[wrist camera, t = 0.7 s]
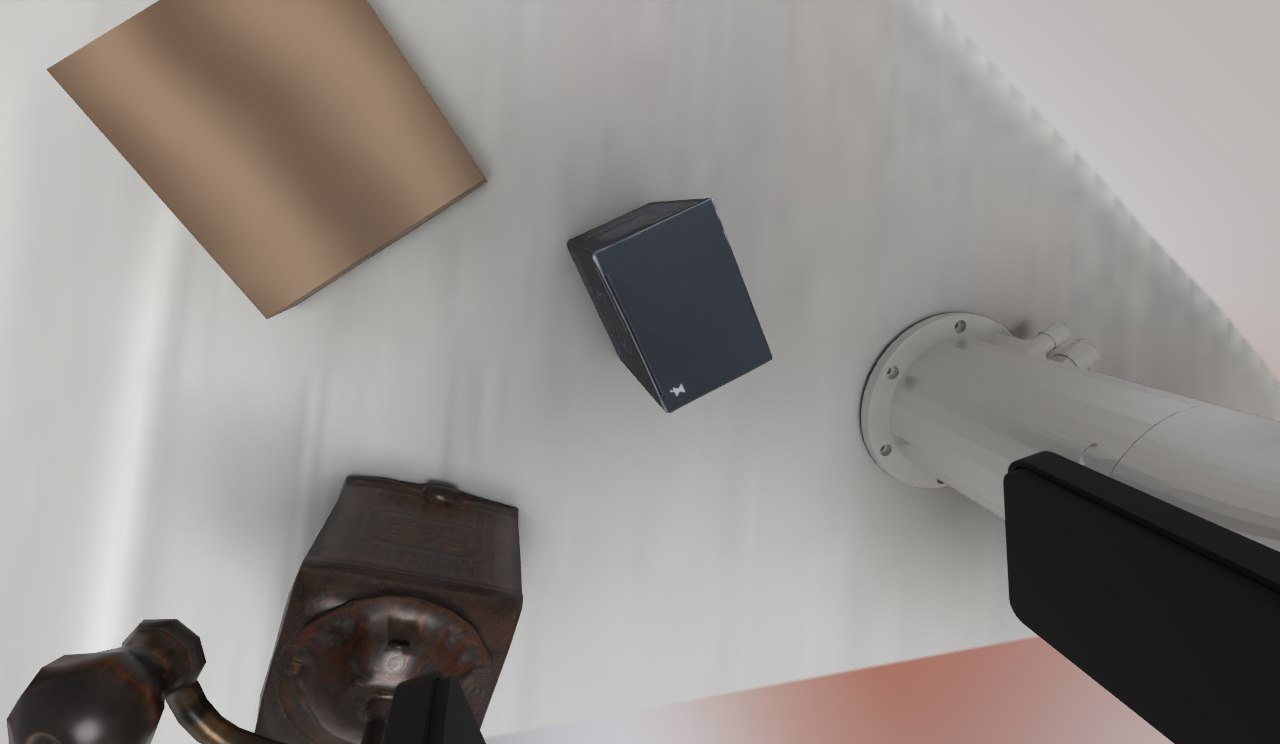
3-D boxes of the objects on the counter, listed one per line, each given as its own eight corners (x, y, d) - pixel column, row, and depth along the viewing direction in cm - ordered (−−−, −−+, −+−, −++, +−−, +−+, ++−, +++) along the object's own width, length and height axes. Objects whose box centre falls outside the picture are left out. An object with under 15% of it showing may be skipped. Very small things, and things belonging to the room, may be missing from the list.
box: (702, 320, 36) (777, 362, 26) (619, 360, 36) (664, 419, 26) (652, 198, 34) (715, 193, 24) (562, 240, 33) (588, 253, 23)
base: (332, -49, 28) (305, -90, 24) (487, 182, 32) (484, 178, 28) (109, 89, 27) (46, 69, 23) (295, 305, 31) (266, 319, 27)
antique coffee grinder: (527, 498, 37) (549, 744, 20) (477, 648, 39) (457, 987, 22) (252, 438, 32) (-21, 688, 15) (211, 610, 34) (-72, 1000, 17)
